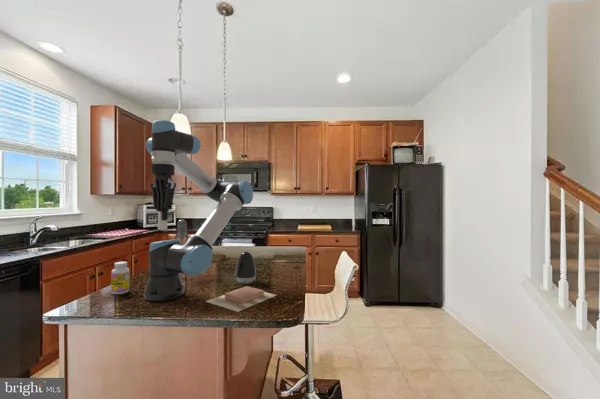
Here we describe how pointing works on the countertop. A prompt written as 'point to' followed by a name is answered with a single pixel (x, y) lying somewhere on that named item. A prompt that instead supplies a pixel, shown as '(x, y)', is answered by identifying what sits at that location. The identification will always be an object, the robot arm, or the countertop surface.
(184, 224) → the juicer
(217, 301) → the cloth
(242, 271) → the black glossy egg shape
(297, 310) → the countertop surface
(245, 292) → the tile
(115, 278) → the supplement bottle
